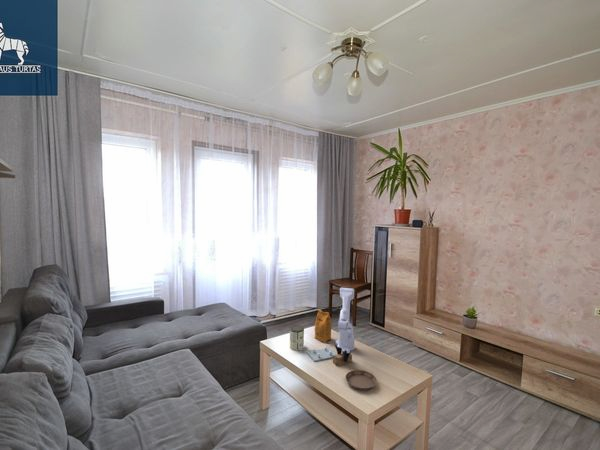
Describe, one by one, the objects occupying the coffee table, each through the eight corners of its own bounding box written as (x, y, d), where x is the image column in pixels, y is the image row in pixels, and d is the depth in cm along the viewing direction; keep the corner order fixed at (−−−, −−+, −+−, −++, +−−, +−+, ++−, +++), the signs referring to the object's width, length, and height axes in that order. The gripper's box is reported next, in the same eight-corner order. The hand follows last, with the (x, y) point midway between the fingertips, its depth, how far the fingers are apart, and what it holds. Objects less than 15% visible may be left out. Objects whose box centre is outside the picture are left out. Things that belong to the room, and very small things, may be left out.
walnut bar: (348, 359, 188) (348, 352, 187) (351, 362, 184) (352, 354, 184) (332, 362, 183) (333, 355, 183) (335, 366, 179) (336, 358, 179)
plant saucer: (339, 383, 161) (339, 378, 161) (355, 371, 174) (355, 366, 174) (367, 397, 149) (367, 392, 149) (382, 383, 162) (382, 377, 162)
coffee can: (293, 342, 210) (293, 324, 209) (305, 345, 205) (306, 326, 205) (287, 348, 200) (287, 329, 200) (300, 351, 196) (300, 332, 195)
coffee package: (321, 334, 225) (322, 307, 224) (332, 339, 216) (333, 311, 215) (312, 337, 219) (313, 309, 218) (323, 343, 209) (324, 314, 208)
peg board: (329, 348, 201) (329, 344, 201) (338, 356, 190) (338, 351, 190) (306, 353, 194) (306, 348, 194) (314, 362, 183) (314, 356, 183)
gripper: (332, 334, 188) (331, 354, 188) (343, 344, 174) (343, 365, 175) (341, 333, 191) (340, 352, 191) (353, 342, 177) (352, 363, 178)
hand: (342, 358), depth 183 cm, fingers open, 7 cm apart
